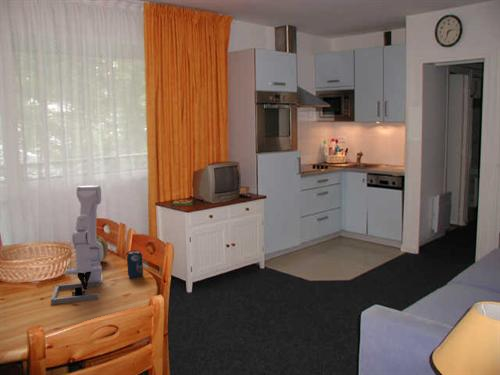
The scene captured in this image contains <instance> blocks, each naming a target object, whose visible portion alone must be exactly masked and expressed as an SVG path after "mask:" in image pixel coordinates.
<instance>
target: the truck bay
mask: <svg viewBox="0 0 500 375" xmlns="http://www.w3.org/2000/svg"><path fill="white" fill-rule="evenodd" d="M80 284H82V283H81V282H75V283H73V282H72V283H65V284H64V283H63V284H56V285H55V287H54V290H53V293H52V295H51V299H50V303H51V305H59V304H67V303H69V304H70V303H76V302H85V301H94V300H95V301H96V300H99V293H92V294H91V293H90V294H86V295H81V296H72V295H71V296H64V297H63V296H62V297H58V295H59V292H60V291H63V290H72V289H74V290H75V285H80ZM100 284H101V283H100V281H92V282H88V285H87V288H92V287H93V288H94V287H100ZM82 289H83V285H82Z"/></svg>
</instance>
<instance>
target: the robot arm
mask: <svg viewBox="0 0 500 375" xmlns="http://www.w3.org/2000/svg"><path fill="white" fill-rule="evenodd" d="M76 198H77V200H78V201H79V203H80V213H79V216H78V217H77V218H76V225H75V231H74V232H72V244H73V249H74V250H75V264H76V267H72V268H68V269H65V276H69V275H76V274H77V279H79V281H80V283H82V285H83V288H82V290H83V291H87V290H88V287H87V285H88V282H92V281H100V284H102V283H103V278H104V275H102V272H103V266H102V265H101V262H102V260H103V255H104V254H103V246H102V244H101V243H99V242H98V241H97V235H98V234H97V229H98V228H97V226H98V225H97V221H98V220H97V216H98V215H97V214H98V213H97V209H98V205H100V204H101V201H102V189H101V186H100V185H99V184H98V185H78V186H77V187H76ZM89 247H98V248H89ZM100 261H101V262H100ZM103 261H104V260H103Z"/></svg>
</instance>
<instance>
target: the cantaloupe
mask: <svg viewBox="0 0 500 375" xmlns="http://www.w3.org/2000/svg"><path fill="white" fill-rule="evenodd" d="M97 241H98V242H99V243H101V244H102V246H103V254H104V255H103V260H102V261H104V260H105V259H106V257H107V255H108V251H109V246H108V242H107V241H106V240H105V239H104V238H103V237H102V236H100V235H99V234H97ZM89 248H98V247H89ZM102 261H100V263H101V262H102Z"/></svg>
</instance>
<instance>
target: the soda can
mask: <svg viewBox="0 0 500 375" xmlns="http://www.w3.org/2000/svg"><path fill="white" fill-rule="evenodd" d="M126 262H127V263H126V264H127V266H126V267H127V276H128V277H129V278H130V279H133V280H134V279H140V278H142V277H143V274H144V267H143V266H144V264H143V254H142V252H141V251H140V250H137V249H135V250H129V251H128V252H127V255H126Z"/></svg>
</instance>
